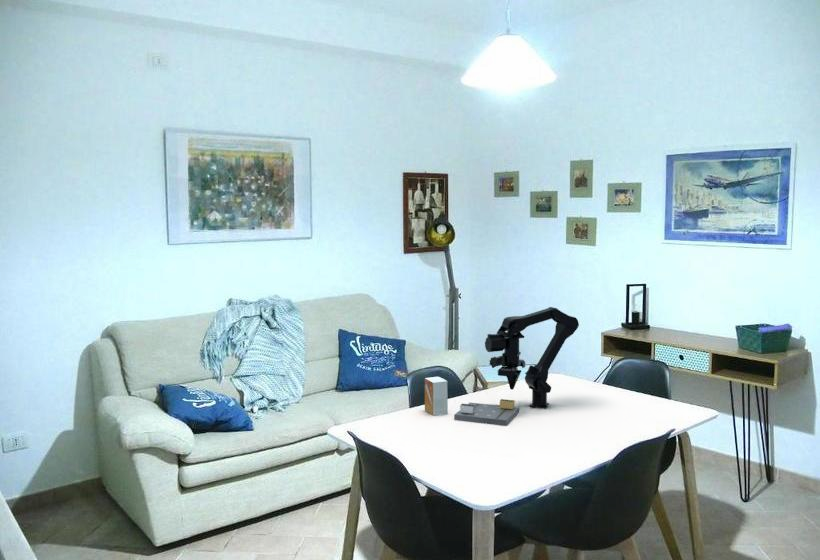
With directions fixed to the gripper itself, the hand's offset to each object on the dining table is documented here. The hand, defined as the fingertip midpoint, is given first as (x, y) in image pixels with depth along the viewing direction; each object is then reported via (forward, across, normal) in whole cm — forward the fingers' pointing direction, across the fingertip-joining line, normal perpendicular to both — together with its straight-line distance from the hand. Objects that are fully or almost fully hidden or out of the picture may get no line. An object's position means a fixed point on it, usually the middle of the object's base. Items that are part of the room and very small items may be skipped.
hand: (511, 389), depth 282 cm
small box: (+8, +15, -26) cm, 31 cm away
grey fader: (+5, +18, -12) cm, 22 cm away
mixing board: (+8, +13, -6) cm, 16 cm away
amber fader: (+5, +7, 0) cm, 9 cm away
